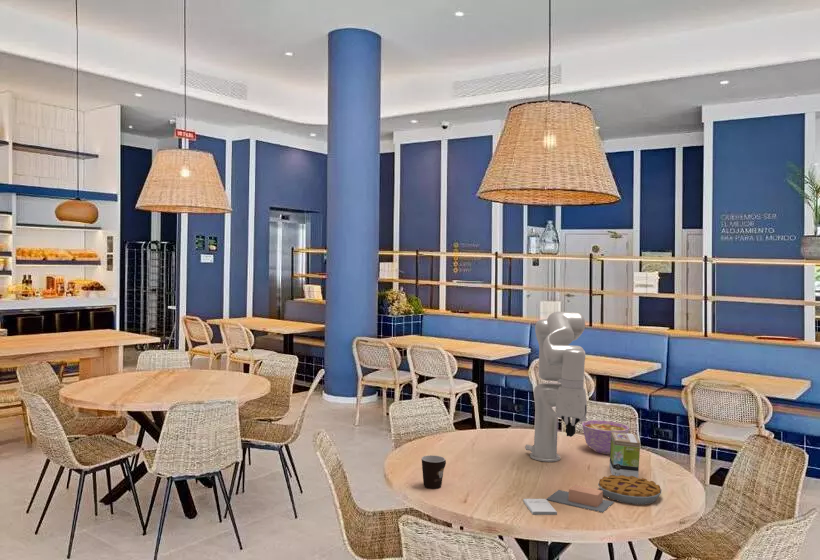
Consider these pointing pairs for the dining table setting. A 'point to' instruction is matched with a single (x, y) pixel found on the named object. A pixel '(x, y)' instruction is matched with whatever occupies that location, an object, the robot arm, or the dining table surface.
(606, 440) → the bowl of food
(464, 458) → the dining table surface
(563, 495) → the mat
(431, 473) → the coffee mug
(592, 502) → the block
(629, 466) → the tea box
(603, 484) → the pie
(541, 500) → the external hard drive
